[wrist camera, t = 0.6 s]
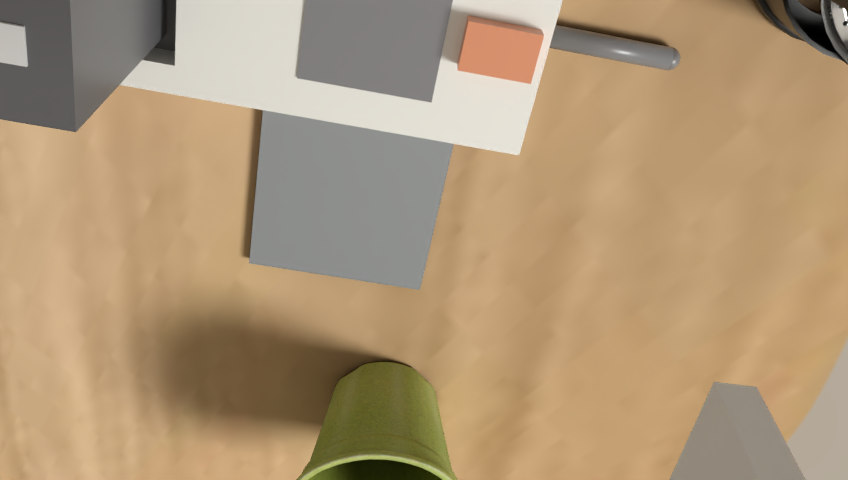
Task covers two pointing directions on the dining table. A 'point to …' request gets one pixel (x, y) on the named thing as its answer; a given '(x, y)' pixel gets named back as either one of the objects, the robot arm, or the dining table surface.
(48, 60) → the block
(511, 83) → the power strip
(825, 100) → the dining table surface
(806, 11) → the french press
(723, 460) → the robot arm
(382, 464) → the plant pot
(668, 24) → the dining table surface
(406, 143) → the pad
